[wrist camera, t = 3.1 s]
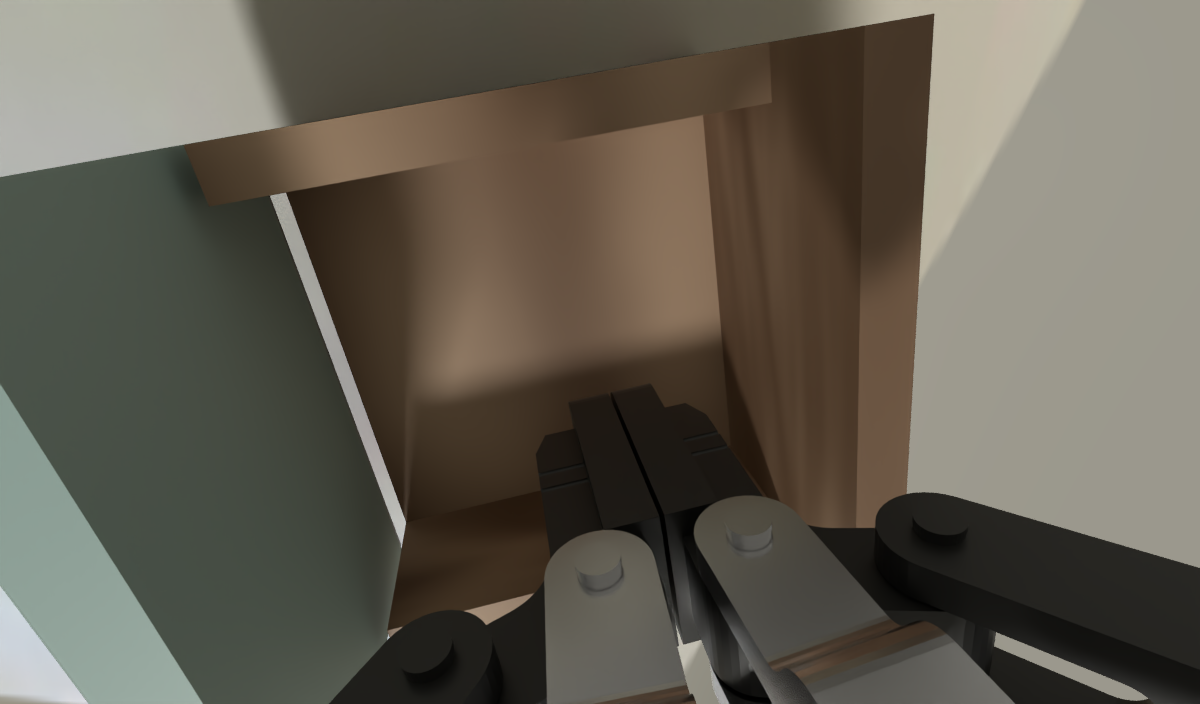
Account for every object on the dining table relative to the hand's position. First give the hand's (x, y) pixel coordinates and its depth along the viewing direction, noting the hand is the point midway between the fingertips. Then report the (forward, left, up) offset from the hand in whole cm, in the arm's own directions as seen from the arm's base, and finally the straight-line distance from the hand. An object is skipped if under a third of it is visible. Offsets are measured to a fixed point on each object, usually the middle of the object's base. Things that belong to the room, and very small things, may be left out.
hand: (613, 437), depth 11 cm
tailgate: (-7, 0, -6) cm, 9 cm away
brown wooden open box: (-1, 0, -9) cm, 9 cm away
